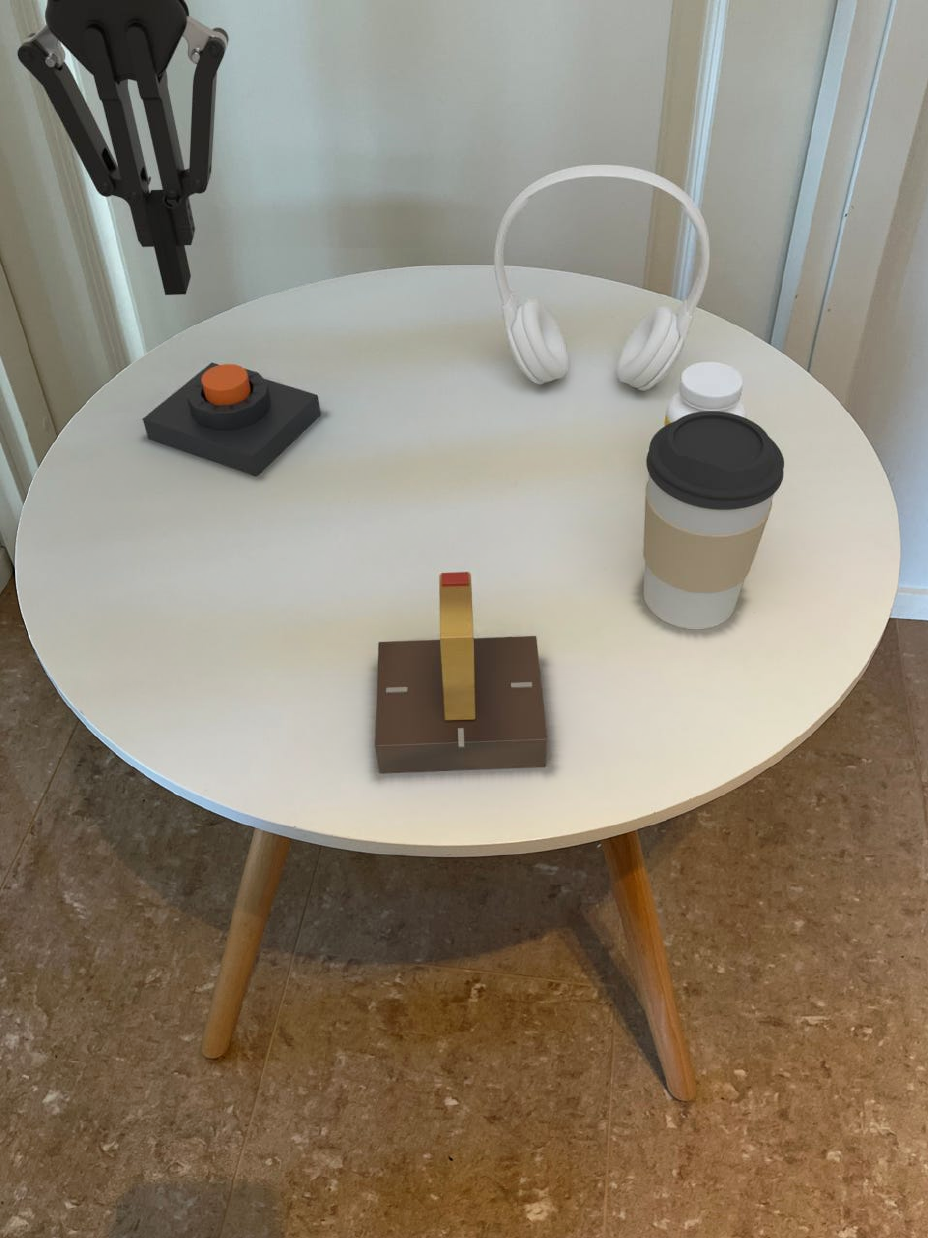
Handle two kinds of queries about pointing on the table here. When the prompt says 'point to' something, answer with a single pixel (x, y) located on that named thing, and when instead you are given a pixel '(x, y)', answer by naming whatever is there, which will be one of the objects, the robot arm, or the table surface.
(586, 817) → the table surface
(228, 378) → the button
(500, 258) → the headphones
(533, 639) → the plate
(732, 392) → the pill bottle
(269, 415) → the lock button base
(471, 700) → the lock knob
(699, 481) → the coffee cup
